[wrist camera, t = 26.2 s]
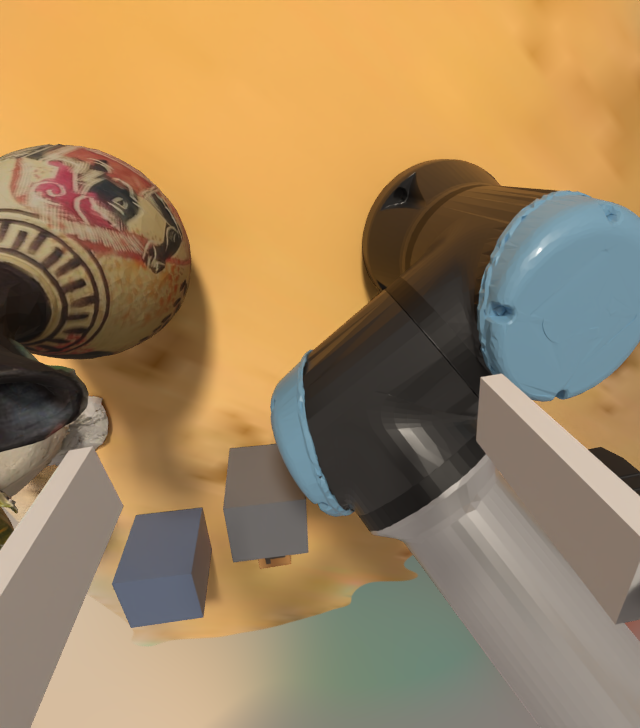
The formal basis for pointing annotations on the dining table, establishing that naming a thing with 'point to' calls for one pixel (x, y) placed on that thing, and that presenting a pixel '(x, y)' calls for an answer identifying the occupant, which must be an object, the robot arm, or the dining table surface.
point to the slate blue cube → (164, 568)
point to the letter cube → (274, 561)
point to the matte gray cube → (263, 505)
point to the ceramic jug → (77, 277)
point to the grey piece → (47, 456)
